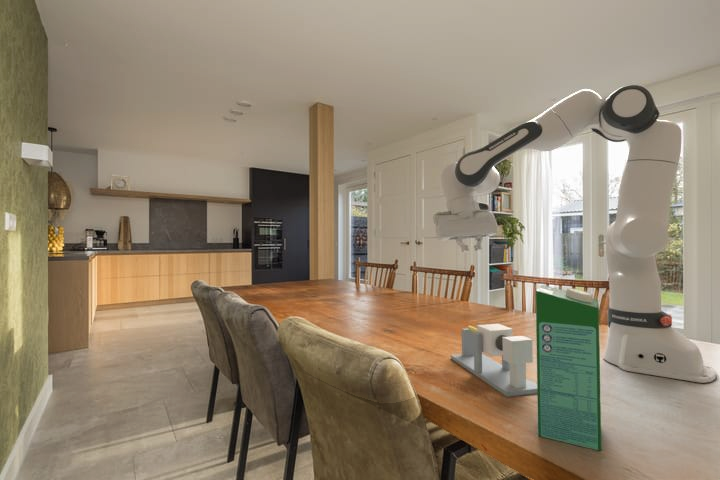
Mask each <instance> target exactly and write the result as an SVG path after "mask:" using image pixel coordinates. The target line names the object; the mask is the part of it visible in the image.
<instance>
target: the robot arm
mask: <svg viewBox="0 0 720 480" xmlns="http://www.w3.org/2000/svg"><path fill="white" fill-rule="evenodd" d="M660 114H661V113H660V111H659V110H658V107H657V104H656V103H655V99H654V97H653V95H652V93H651V92H650V91H649V90H648V89H647V88H645V87H644V86H641V85H636V84H632V85H631V84H630V85H625V86H622V87H619V88H617V89H616V90H615V91H613V92H612V93H611V94H609V96H608V97H607V98H603V97H601V96H600V95H599V94H598V93H597V92H595V91H594V90H592V89H589V88H588V89H587V88H584V89H581V90H579V91H576V92H574V93H572V94H570V95H569V96H567V97H565V98H563V99H561V100H560V101H558V102H557V103H555V104H553V106H551V107H549V108H548V109H547V110H545V111H543V113H541V114H539V115H538V116H536V117H534V118H532V119H531V120H528V121H526V122H524V123H522V124H520V125H518V126H516V127H514V128H512V129H511V130H509V131H507V132H506V133H505V134H503V135H501V136H499V137H498V138H496V139H495V140H493V141H491V142H490V143H488V144H487V145H485V146H483V147H480V148H478V149H476V150H471V151H469V152H467V153H464V154H462V156H461V157H460V158H459V159H458V161H456V162H451V163H449V164H448V165H446V166H445V167H443V169H442V171H441V176H440V177H441V179H440V181H441V185H442V192H443V195H444V197H445V200H446V203H445V205H446V209H447V211H438V212H436V213H435V214H434V215H433V223H434V225H435V234H436V239H437V240H438V241H440V242H442V241H454V240H455V241H456V244H457V245H458V246H459V247H460V248H461V252H462V253H468V252H469V249H470V248H469V245H466V244H465V243H464V242H463V241H464V240H465V239H474V240H475V242H476V244H474V245H473V248H474V251H476V252H479V251H480V252H481V250H482V249H483V247H482V242H483V239H484V238H485V237H486V238H488V237H494V236H495V235H497V234H498V232H499V226H498V223H497V220H496V216H495V215H494V213H493V212H492V211H491V210H492V206H491V204H489V203H485V202H481V201H478V200H475V199H474V197H480V196H481V197H482V196H485V195H486V196H487V195H489V194H492V193H494V192H495V191H496V190H497V189H498V187H499V186H500V183H501V175H500V172H499V171H498V170H497V169H496V168H495V166H497V165H498V164H501V163H502V162H503V161H505V160H506V159H508V158H510V157H512V156H513V155H515V154H517V153H518V152H521V151H522V150H528V149H531V150H532V149H533V150H537V151H541V152H551V151H553V150H555V149H558V148H559V147H560V148H561V147H562V146H564V145H565V144H567V143H569V142H570V141H572V140H573V139H574V138H576V137H578V135H580V134H582V133H584V132H585V131H587V130H589V129H591V131H592V132H594V133H596V134H597V135H599V136H601V137H602V138H603V139H605V140H607V141H610V142H613V143H623V142H626V143H627V147H628V148H627V154H626V155H627V156H626V159H625V163H624V167H623V170H622V171H623V172H622V176H621V179H620V185H619V189H618V198H617V199H618V200H617V207H616V215H615V219H614V221H613V222H612V223H610V225H608V227H607V229H606V230H605V236H604V238H605V239H604V240H605V252H606V253H605V255H606V264H607V271H608V273H607V274H608V285H609V286H608V287H609V290H608V291H609V306H608V307H607V312H606V313H607V314H606V315H607V327H608V336H607V343H606V348H605V351H604V354H603V356H602V357H603V359H604V360H605V361H606V362H608V363H610V364H612V365H615V366H617V367H619V368H620V369H621V370H623V371H627V372H630V373H631V372H632V373H639V374H644V375H651V376H658V377H661V378H662V377H663V378H669V379H675V380H682V381H687V382H688V381H689V382H695V383H703V384H705V383H710V382H713V381H714V380H716V377H717V372H716V370H715V368H714V367H712V366H710V365H708V364H706V363H704V359H703V354H702V352H701V349H700V348H699V347H698V345H697V344H696V343H695V342H694V341H692V340H690V339H688V338H687V337H686V336H684V335H683V334H681V333H680V332H679V331H677V330H676V329H675V328H673V327H672V326H673V325H672V324H673V316H672V314H670V313H669V314H668V313H667V312H665V311H662V282H661V277H660V274H659V271H658V265H657V258H656V255H657V254H659V253H660V252H661V251H663V250H664V249H665V247H666V246H667V245H668V242H669V226H670V225H669V223H670V213H671V199H672V198H671V197H672V193H673V189H674V188H673V187H674V184H675V180H676V176H677V172H678V167H679V163H680V157H681V151H682V128H681V127H680V126H679V124H677V123H675V122H673V121H670V120H662V119H659V117H660Z"/></svg>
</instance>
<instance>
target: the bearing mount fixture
mask: <svg viewBox="0 0 720 480" xmlns="http://www.w3.org/2000/svg"><path fill="white" fill-rule="evenodd" d="M496 347H497V348H498V349H499V350H501V351H503V355H501V363H500V362H498V361H496V360H494V359H493V358H491V357H490V356H487V355H485V354H484V353H483V352H482V334H481V333H479V332H477V327H475V326H472V325H468V326H467V327H466V328H461V353H459V354H458V353H457V354H451V355H450V359H451V360H452V361H453V362H455V363H457V365H458V364H459V365H460V366H461V367H462V368H465V370H467V371H469V372H470V374H471V373H472V374H473V375H474V376H475V377H477V378H479V380H481V381H483V382H484V383H486V384H488V386H489V387H492V388H493V389H494V390H497V391H498V392H499V393H500V394H502V395H503V396H504V397H507V398H509V397H518V396H523V395H524V396H525V395H526V396H527V395H534V394H537V383H536V382H534V381H532V380H530V379H528V378H527V364H530V363H533V362H534V361H533V360H534V359H533V357H534V356H533V355H534V354H533V339H532V338H530V337H526V336H525V335H513V336H511V337H507V336H505V335H501V336H499V337H498V338H497V339H496Z"/></svg>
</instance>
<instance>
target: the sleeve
mask: <svg viewBox="0 0 720 480" xmlns="http://www.w3.org/2000/svg"><path fill="white" fill-rule="evenodd" d="M476 328H477V332H479V333H481V334H482V353H483V354H484V353H485V354H486V355H488V357H496V356H497V357H498V356H502V355H503V351H501V350H499V349H498V348H497V347H496V339H497V338H498V337H499V336H501V335H505V336H507V337H511V336H514V328H511V327H509V326H506V325H503V324H500V323H490V324H489V323H487V324H477V325H476Z"/></svg>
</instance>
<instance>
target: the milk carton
mask: <svg viewBox="0 0 720 480" xmlns="http://www.w3.org/2000/svg"><path fill="white" fill-rule="evenodd" d="M593 297H594V294H592V293H590V292H588V291H584V290H580V289H578V288H577V289H576V288H571V287H567V289H566V290H563V289H558V288H556V287H551V286H549V285H545V284H541V285H540V286H539V287H538V288H537V289H536V291H535V316H536V317H535V323H536V324H535V326H536V337H535V339H536V382H537V383H536V384H537V393H536V394H537V397H536V398H537V435H538V437H542V438H546V439H550V440H554V441H557V442H560V443H561V442H562V443H566V444H569V445H575V446H578V447H583V448H586V449H590V450H595V451H599V452H601V451H602V425H601V423H602V420H601V419H602V418H601V417H602V410H601V404H602V403H601V360H600V359H601V358H600V357H601V356H600V348H601V347H600V307H599V301H598V299H596V298H593Z"/></svg>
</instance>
